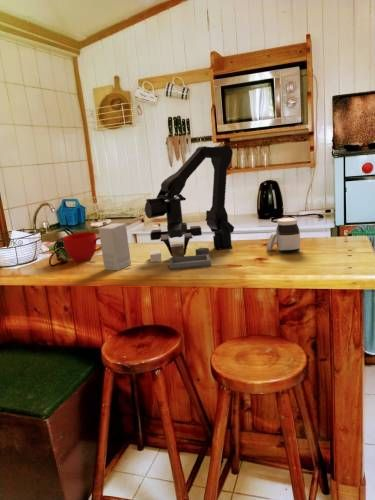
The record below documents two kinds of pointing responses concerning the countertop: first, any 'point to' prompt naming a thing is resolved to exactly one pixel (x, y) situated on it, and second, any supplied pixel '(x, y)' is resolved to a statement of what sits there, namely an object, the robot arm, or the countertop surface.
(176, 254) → the walnut block
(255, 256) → the countertop surface
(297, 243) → the spread jar
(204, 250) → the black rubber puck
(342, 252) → the countertop surface
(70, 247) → the ceramic cup
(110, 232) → the skincare box
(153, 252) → the off-white plastic block
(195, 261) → the charcoal tray
